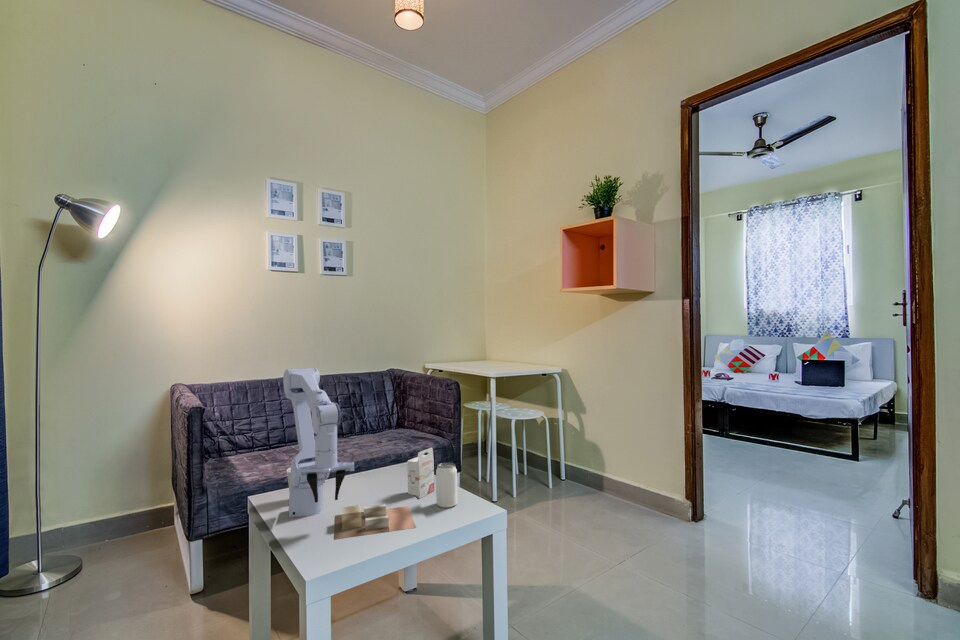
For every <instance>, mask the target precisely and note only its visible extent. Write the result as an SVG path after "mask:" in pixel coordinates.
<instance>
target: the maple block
mask: <svg viewBox="0 0 960 640" xmlns="http://www.w3.org/2000/svg"><path fill="white" fill-rule="evenodd" d="M361 512H362V506H361V505H360V504H359V505H350V506H344V507H343V506H342V507H341V515H342V529H350V528H357V527H362V524H361Z"/></svg>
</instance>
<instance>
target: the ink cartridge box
mask: <svg viewBox="0 0 960 640" xmlns="http://www.w3.org/2000/svg"><path fill="white" fill-rule="evenodd" d="M425 453H426V454H425ZM434 458H435V457H434V448H433V447H432V446H431V447H429V448H427V449H424V450H422V451H419V452H417V456H416V457H413V458H411V459H408V460H406V461H407V462H406V465H407V467H406V468H407V493H408V495H412V496H415V498H416V499H421V498H423V497H425V496H427V495H430V494H431V493H432V492H434V491H435V466H434V465H435V463H434V462H435V460H434Z"/></svg>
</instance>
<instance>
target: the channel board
mask: <svg viewBox="0 0 960 640" xmlns="http://www.w3.org/2000/svg"><path fill="white" fill-rule="evenodd" d="M361 524H362V527H357V528H350V529H342V514H338V515H336V514H335V515H334V528H333V529H334V530H333V540H334V541H336V540H343V539H348V538H355V537H362V536H369V535H378V534H382V533H390V532H398V531H404V530H412V529H416V528H417V525H416V523H415V521H414V518H413V515H412V513H411V511H410V507H409V506H408V505H406V506H398V507H390V508H387V505H386V504H385V503H383V504H379V505H378V504H377V505H376V504H375V505H367V506H364V507H363V511H361Z"/></svg>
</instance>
